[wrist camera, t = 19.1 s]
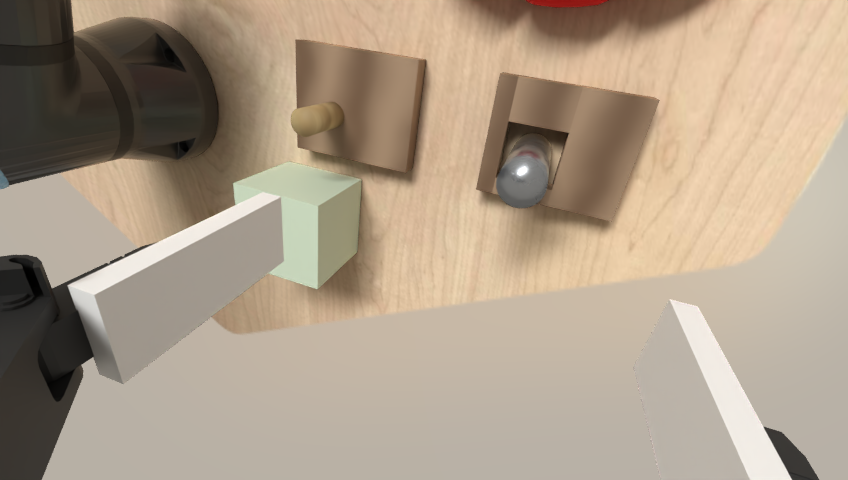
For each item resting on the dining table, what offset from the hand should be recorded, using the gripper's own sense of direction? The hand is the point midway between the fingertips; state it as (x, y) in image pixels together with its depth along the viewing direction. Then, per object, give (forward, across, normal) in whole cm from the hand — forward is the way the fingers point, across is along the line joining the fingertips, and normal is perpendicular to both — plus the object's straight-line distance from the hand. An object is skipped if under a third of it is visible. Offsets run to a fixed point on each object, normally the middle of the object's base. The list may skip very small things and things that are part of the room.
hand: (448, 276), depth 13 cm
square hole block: (+25, +4, 0) cm, 26 cm away
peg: (+25, +2, -1) cm, 25 cm away
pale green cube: (+26, -19, -12) cm, 34 cm away
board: (+26, -15, 0) cm, 30 cm away
